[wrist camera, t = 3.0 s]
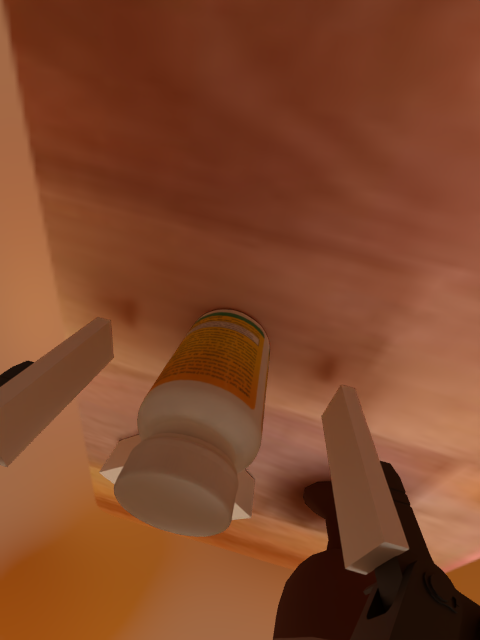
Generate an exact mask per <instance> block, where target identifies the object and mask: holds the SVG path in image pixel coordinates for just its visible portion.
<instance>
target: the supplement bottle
mask: <svg viewBox="0 0 480 640" xmlns="http://www.w3.org/2000/svg"><path fill="white" fill-rule="evenodd" d="M269 357H270V344H269V340H268V337H267V335H266V333H265V331H264V329H263V328H262V327H261V325H260V324H258V323H257V322H256V321H255V320H253V319H252V318H250V317H249V316H247V315H245V314H243V313H241V312H238V311H235V310H227V309H221V310H215V311H211V312H208V313H206V314H204V315H203V316H201V317H200V318H199V319H198V320H197V321H196V322H195V323H194V325H193V326H192V328H191V329H190V331H189V332H188V333H187V335H186V337H185V338H184V340H183V341H182V343H181V344H180V346H179V347H178V349H177V350H176V352H175V353H174V355H173V356H172V358H171V359H170V360H169V362H168V363H167V365H166V366H165V368H164V369H163V371H162V373H161V374H160V376H159V377H158V379H157V380H156V382H155V383H154V385H153V386H152V388H151V389H150V391H149V392H148V394H147V395H146V397H145V398H144V401H143V402H142V404H141V406H140V409H139V413H138V419H137V425H138V432H139V436H140V438H141V442H140V443H139V444H138V445H136V446H135V447H134V448H133V449H132V451H131V453H130V455H129V457H128V459H127V461H126V463H125V464H124V466H123V468H122V470H121V472H120V474H119V476H118V477H117V480H116V482H115V485H114V494H115V496H116V499H117V500H118V502H119V503H120V504H121V506H122V507H123V508H124V509H125V510H126V511H128V512H129V513H130V514H132V515H133V516H135V517H136V518H138V519H139V520H141V521H143V522H145V523H147V524H149V525H151V526H154V527H156V528H159V529H161V530H164V531H168V532H172V533H176V534H180V535H187V536H197V537H199V536H204V537H205V536H211V535H215V534H219V533H221V532H223V531H225V530H226V529H227V528H228V527H229V525H230V523H231V521H232V515H233V509H234V504H235V498H236V493H237V490H238V478H237V474H238V473H240V472H242V471H243V470H244V469H246V468H247V467H248V466H249V465H250V464H251V463H252V462H253V460H254V459H255V457H256V455H257V453H258V451H259V448H260V444H261V438H262V429H263V419H264V408H265V398H266V387H267V377H268V368H269Z"/></svg>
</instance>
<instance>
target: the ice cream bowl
mask: <svg viewBox="0 0 480 640" xmlns="http://www.w3.org/2000/svg"><path fill="white" fill-rule="evenodd" d="M303 498H304V501H305V504H306V505H307V506H308V507H309V508H310V509H311V510H312V511H313V512H315V513H316V514H318V515H319V516H321V517H323V518H324V519H326V526H327V533H328V540H329V541H328V545H327V550H326V551H323V552H320V553H317V554H314V555H312V556H310V557H309V558H307V559H306V560H305V561H303V562H302V563H301V564H300V565H299V566H298V567H297V568H296V570H295V571H294V572H293V574H292V575H291V576H290V578H289V579H288V580H287V582H286V584H285V587H284V590H283V593H282V596H281V599H280V602H279V605H278V610H277V615H276V622H275V628H274V636H273V640H350V638H351V636H352V634H353V632H354V629H355V627H356V625H357V622H358V620H359V618H360V615H361V613H362V611H363V609H364V606H365V604H366V602H367V599H368V597H369V595H370V593H369V594H367V595H365V594H364V592H363V591H364V590H365V589H366V587H368V586H370V585H372V584H374V583H376V582H377V580H376V575H375V571H374V570H373V571H371V572H370V573H368V574H366V575H365V574H361V573H358V572H355V571H351V570H348V569H345V564H344V558H343V552H342V545H341V539H340V532H339V526H338V520H337V513H336V507H335V500H334V494H333V487H332V482H317V483H315V484H313V485H311V486H309V487H307V488H305V491H304V496H303Z"/></svg>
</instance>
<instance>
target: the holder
mask: <svg viewBox="0 0 480 640" xmlns="http://www.w3.org/2000/svg"><path fill="white" fill-rule="evenodd" d="M140 442H141V438H140V436H139V435H136V436H133V437H129V438H126V439H123V440H120V441H119V442H118V444H117V445H116V447H115V448H114V450H113V452H112V453H111V455H110V456H109V458H108V459H107V461H106V463H105V464H104V466H103V467H102V469H101V470H100V472H99V473H100V474H102V475H103V476H104V477H106V478H107V479H108V480H110V481H111V482H112V483H114V484H115V482H116V480H117V477H118V476H119V474H120V472H121V470H122V468H123V466H124V464H125V463H126V461H127V459H128V457H129V455H130V453H131V451H132V449H133V448H134V447H135V446H136V445H138V444H139V443H140ZM237 478H238V490H237V493H236V498H235V504H234V509H233V515H232V520H235V519H245V518H251V515H252V505H253V495H254V485H255V480H254V479H253V478H252V477H251V476H250V475H249V474H248V473H247V471H246V470H245V469H244V470H243V471H242V472H240V473H238V474H237Z"/></svg>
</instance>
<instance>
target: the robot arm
mask: <svg viewBox="0 0 480 640" xmlns="http://www.w3.org/2000/svg"><path fill="white" fill-rule="evenodd" d="M113 358H114V354H113V342H112V329H111V320H107V319H103V318H100V317H97V318H96V319H94V320H93V321H91V322H90V323H89V324H87V325H86V326H85V327H83V328H82V329H80V330H79V331H78V332H76V333H75V334H73V335H72V336H71V337H69V338H68V339H66V340H65V341H64V342H62V343H61V344H60V345H58V346H57V347H55V348H54V349H53V350H51V351H50V352H48V353H47V354H46V355H45V356H43V357H41V358H40V359H39V360H37V361H36V362H35V363H34V362H31V361H26V362H23V363H21V364H18V365H16V366H13V367H12V368H10V369H9V370H7V371H6V372H4V373H3V374H1V375H0V465H2V466H6V467H8V465H10V464H11V463H12V461H13V460H14V459H15V458H16V457H17V456H18V455H19V454H20V453H21V452H22V451H23V450H24V449H25V448H26V447H27V446H28V445H29V444H30V443H31V442H32V441H33V440H34V439H35V438H36V437H37V436H38V435H39V434H40V433H41V432H42V431H43V430H44V429H45V428H46V427H47V426H48V425H49V424H50V423H51V421H52V420H53V419H54V418H55V417H56V416H57V415H58V414H59V413H60V412H61V411H62V410H63V409H64V408H65V407H66V406H67V405H68V404H69V403H70V402H71V401H72V400H73V399H74V398H75V397H76V396H77V395H78V394H79V393H80V392H81V391H82V390H83V389H84V388H85V387H86V386H87V385H88V384H89V383H90V382H91V381H92V379H93V378H94V377H95V376H96V375H97V374H98V373H99V372H100V371H101V370H102V369H103V368H104V367H105V366H106V365H107V364H108V363H109V362H110V361H111V360H112V359H113ZM321 417H322V423H323V430H324V436H325V442H326V449H327V455H328V462H329V468H330V475H331V481H332V487H333V494H334V500H335V507H336V513H337V520H338V526H339V532H340V539H341V545H342V552H343V558H344V564H345V569H348V570H351V571H355V572H358V573H361V574H365V575H366V574H368V573H370V572H371V571H373V570H374V571H375V575H376V580H377V582H376V583H374V584H372V585H370V586H368V587H366V589H365V590H364V591H363V592H364V594H365V595H367V594H369V593H370V595H369V597H368V599H367V602H366V604H365V606H364V609H363V611H362V613H361V615H360V618H359V620H358V622H357V625H356V627H355V629H354V632H353V634H352V636H351V638H350V640H480V606H479V605H478V604H476V603H475V602H473V601H472V600H470V599H469V598H467V597H466V596H464V595H463V594H461V593H460V592H459V591H457V590H456V589H455V587H454V585H453V584H452V582H451V580H450V579H449V578H448V577H447V575H446V574H445V573H444V572H443V571H442V570H441V569H440V568H439V567H438V566H437V565H435V564H434V562H433V560H432V558H431V556H430V554H429V551H428V548H427V546H426V543H425V541H424V538H423V536H422V533H421V530H420V528H419V525H418V523H417V520H416V518H415V515H414V513H413V510H412V507H410V502H409V500H408V497H407V495H406V494H405V489H404V487H403V484H402V482H401V479H400V477H399V476H398V474H397V473H396V471H395V470H394V468H393V467H392V465H391V464H390V463H386V462H383V461H379V458H378V455H377V452H376V449H375V446H374V443H373V440H372V437H371V434H370V431H369V428H368V425H367V422H366V419H365V416H364V414H363V411H362V408H361V405H360V402H359V399H358V396H357V393H356V390H355V388H352V387H348V386H345V385H341V386H340V387H339V389H338V390H337V392H336V394H335V395H334V397H333V398H332V400H331V402H330V403H329V405H328V407H327V408H326V410H325V411H324V413H323V415H322V416H321Z"/></svg>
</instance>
